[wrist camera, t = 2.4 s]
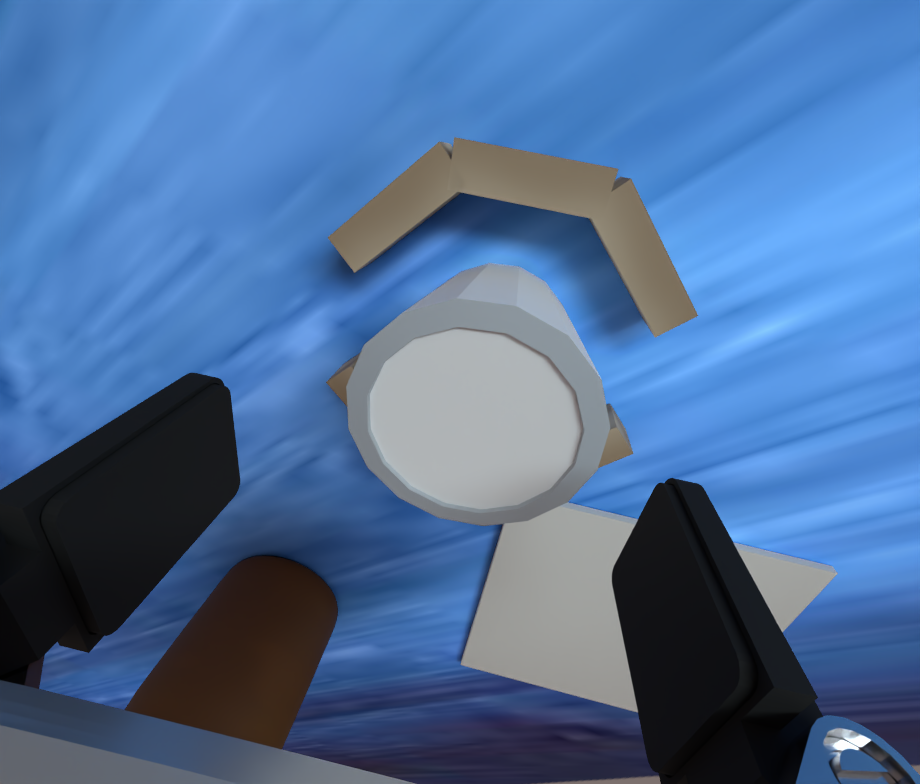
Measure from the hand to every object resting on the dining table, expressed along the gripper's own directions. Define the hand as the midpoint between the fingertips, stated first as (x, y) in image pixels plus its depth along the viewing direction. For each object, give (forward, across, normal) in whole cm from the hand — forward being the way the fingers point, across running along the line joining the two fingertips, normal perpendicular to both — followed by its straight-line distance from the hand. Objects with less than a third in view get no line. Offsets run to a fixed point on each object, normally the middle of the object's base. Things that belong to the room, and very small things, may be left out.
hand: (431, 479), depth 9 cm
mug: (+10, +10, +22) cm, 26 cm away
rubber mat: (+9, -11, +15) cm, 20 cm away
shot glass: (+9, -1, 0) cm, 9 cm away
